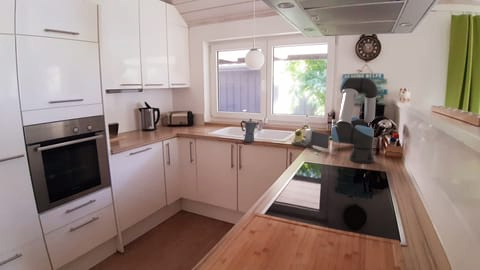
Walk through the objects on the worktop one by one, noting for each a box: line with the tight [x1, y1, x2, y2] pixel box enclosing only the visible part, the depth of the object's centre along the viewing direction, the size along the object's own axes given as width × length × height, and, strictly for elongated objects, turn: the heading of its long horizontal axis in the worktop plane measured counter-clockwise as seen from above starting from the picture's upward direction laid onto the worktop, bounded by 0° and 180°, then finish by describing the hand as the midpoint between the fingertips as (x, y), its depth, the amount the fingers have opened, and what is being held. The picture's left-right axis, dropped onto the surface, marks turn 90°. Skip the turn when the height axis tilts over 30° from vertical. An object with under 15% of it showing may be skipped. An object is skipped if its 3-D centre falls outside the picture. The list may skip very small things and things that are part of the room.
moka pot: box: [240, 118, 258, 143], centre depth 241 cm, size 10×15×20 cm, turn 78°
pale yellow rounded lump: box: [291, 128, 306, 147], centre depth 233 cm, size 10×10×13 cm
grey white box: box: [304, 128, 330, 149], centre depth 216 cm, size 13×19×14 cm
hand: (326, 139), depth 215 cm, fingers closed
